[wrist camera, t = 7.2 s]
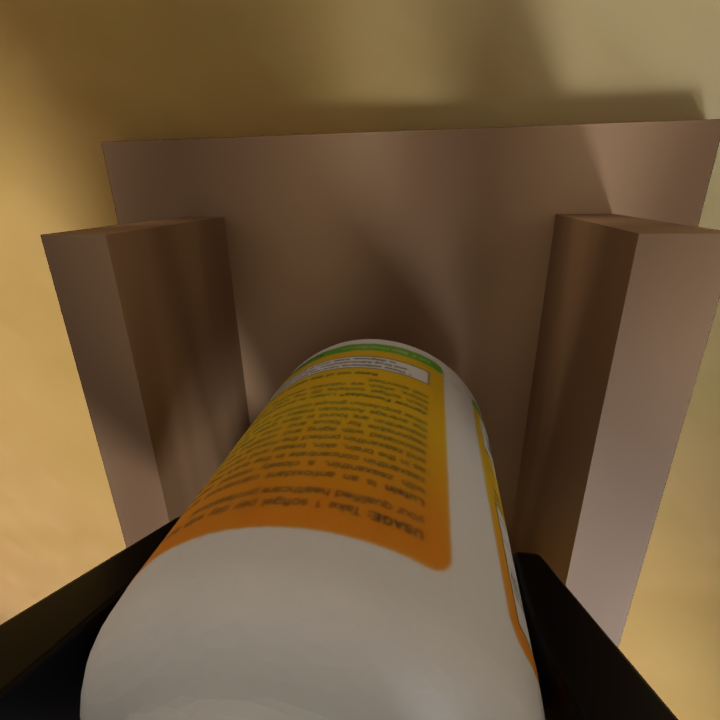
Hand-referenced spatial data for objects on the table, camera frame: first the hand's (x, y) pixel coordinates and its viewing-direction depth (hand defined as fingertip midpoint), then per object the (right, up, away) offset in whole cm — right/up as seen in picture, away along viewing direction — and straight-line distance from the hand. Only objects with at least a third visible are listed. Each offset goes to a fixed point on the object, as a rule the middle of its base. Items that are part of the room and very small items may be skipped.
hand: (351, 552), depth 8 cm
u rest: (+1, +2, +5) cm, 6 cm away
